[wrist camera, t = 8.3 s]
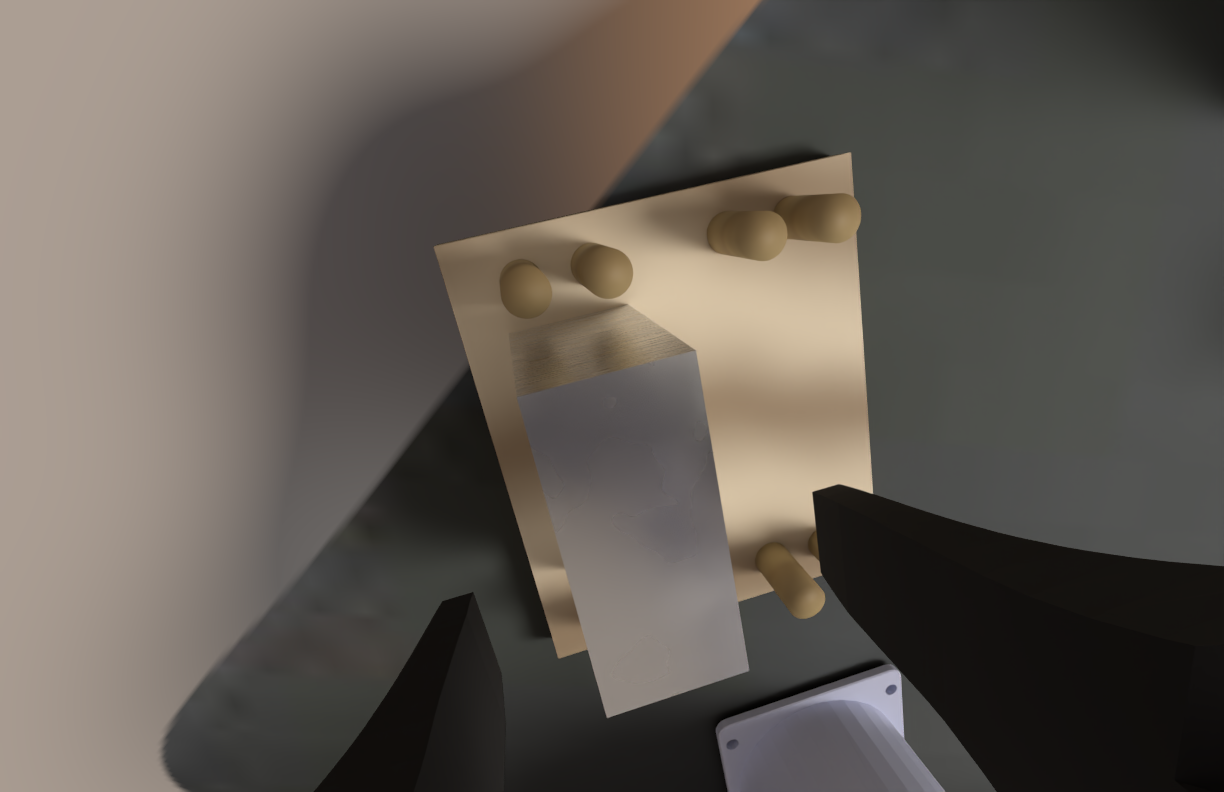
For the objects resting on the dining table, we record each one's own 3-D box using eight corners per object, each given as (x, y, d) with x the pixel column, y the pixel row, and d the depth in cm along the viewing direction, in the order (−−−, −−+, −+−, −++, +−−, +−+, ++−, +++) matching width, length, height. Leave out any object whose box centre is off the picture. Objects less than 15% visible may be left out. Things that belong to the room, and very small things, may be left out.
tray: (860, 543, 22) (924, 600, 19) (555, 638, 21) (567, 717, 18) (831, 155, 18) (909, 142, 14) (436, 244, 16) (422, 252, 13)
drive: (675, 538, 19) (749, 670, 14) (573, 568, 19) (606, 718, 13) (628, 304, 17) (696, 350, 11) (508, 333, 16) (516, 397, 11)
